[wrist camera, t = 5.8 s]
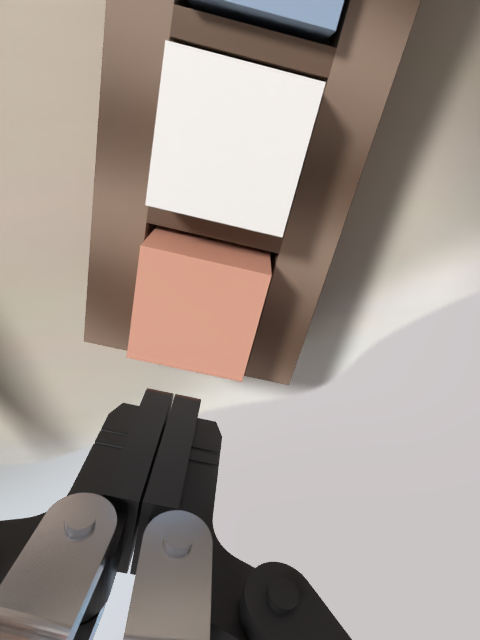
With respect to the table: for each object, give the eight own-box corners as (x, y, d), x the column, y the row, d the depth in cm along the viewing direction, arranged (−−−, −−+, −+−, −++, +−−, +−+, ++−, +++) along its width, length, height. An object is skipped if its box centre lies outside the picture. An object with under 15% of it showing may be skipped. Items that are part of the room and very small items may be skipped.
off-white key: (181, 51, 15) (165, 39, 13) (314, 86, 16) (325, 82, 13) (162, 190, 17) (145, 205, 15) (278, 218, 18) (282, 237, 15)
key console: (159, -208, 14) (126, -313, 11) (434, -125, 15) (488, -198, 11) (110, 305, 23) (83, 341, 20) (284, 343, 24) (288, 385, 20)
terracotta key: (157, 225, 18) (140, 245, 15) (269, 251, 18) (271, 275, 16) (144, 324, 20) (126, 357, 18) (244, 346, 21) (242, 381, 18)
